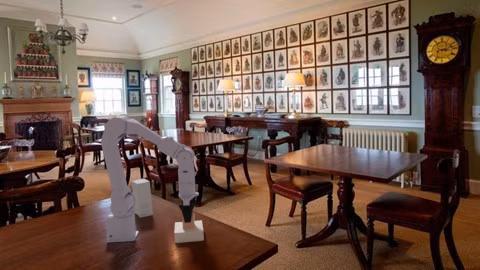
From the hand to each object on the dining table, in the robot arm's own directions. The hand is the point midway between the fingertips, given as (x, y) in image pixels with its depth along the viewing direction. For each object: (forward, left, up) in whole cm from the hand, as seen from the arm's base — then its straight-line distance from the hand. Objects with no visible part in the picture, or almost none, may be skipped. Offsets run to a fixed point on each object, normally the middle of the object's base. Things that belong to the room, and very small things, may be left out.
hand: (188, 218), depth 122 cm
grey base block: (0, 0, -7) cm, 7 cm away
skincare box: (-21, +26, -7) cm, 34 cm away
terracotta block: (0, 0, -3) cm, 3 cm away
